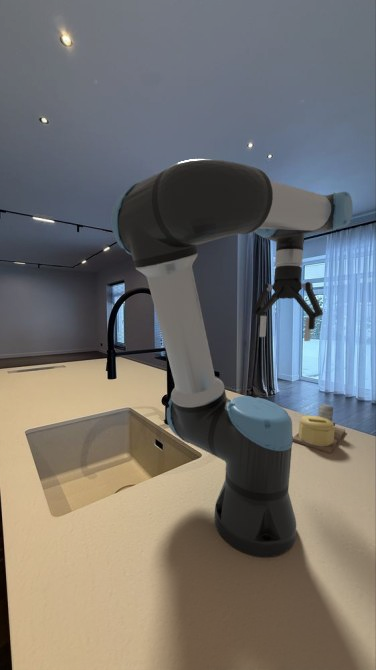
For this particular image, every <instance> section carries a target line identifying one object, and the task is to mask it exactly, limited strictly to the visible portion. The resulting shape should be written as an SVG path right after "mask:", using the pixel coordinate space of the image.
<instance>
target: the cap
mask: <svg viewBox="0 0 376 670" xmlns="http://www.w3.org/2000/svg"><path fill="white" fill-rule="evenodd" d="M333 423H334V422H333V420H332V421H330V420H328V419H326V418H322V417H318V415H302V416H301V417H300V420H299V424H298V427H299V428H298V433H299V436H300V438H301V439H302V440H304V441H306V442H309V443H311V444H314V445H323V446H327V445H330V444H332V443H334V431H335V429H334V428H333V425H334V424H333Z"/></svg>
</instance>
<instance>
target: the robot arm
mask: <svg viewBox="0 0 376 670" xmlns="http://www.w3.org/2000/svg"><path fill="white" fill-rule="evenodd" d="M352 218H353V200H352V196H351V195H350V193H349V192H347V191H339V192H333V193H331V194H327V195H325V194H320V193H316V192H313V191H309V190H305V189H302V188H299V187H296V186H292V185H288V184H285V183H280V182H278V181H274V180H271V179H270V177H269V176H268V175H267V173H266V172H264V171H263V170H261V169H260V168H258V167H254V166H250V165H248V164H244V163H240V162H239V163H238V162H234V161H228V160H219V159H211V158H209V159H207V158H198V159H197V158H195V159H188V160H184V161H180V162H176V163H175V164H173V165H170V166H169V167H168V168H166V169H164V170H162V171H160V172H158V173H155V174H153V175H152V176H150V177H148V178H145V179H144V180H142V181H139V182H136V183H134V184H133V185H131V186H129V188H128V189H127V190H126V191H124V192H123V193H121V194H120V195H119V196H118V198H117V199H116V201H115V204H114V205H113V207H112V212H111V217H110V219H111V222H110V223H111V229H112V230H111V231H112V234H113V237H114V239H115V241H116V243H117V245H119V247H120V248H121V249H123V250H124V251H125V252H126V253H127V254H128V255H129V256H130V255H131V256H132V261H133V264H134V267H135V270H136V271H138V272H140V273H142V274H143V275H144V276H145V277H146V280H147V282H148V283H147V284H148V288H149V291H150V294H151V299H152V302H153V306H154V310H155V314H156V318H157V321H158V326H159V329H160V332H161V337H162V341H163V344H164V348H165V351H166V355H167V359H168V362H169V363H168V364H169V367H170V370H171V375H172V379H173V382H174V388H173V389H172V391H171V393H170V398H169V401H168V405H169V406H168V407H167V408H166V420H167V424H168V426H169V428H170V430H171V431H172V433H173V434H174V435H175V436H176V437H178V438H180V439H181V440H182V441H184V442H186V444H190V445H192V446H194V447H196V448H198V449H201V450H202V451H205V452H207V453H209V454H211V455H212V456H214V457H216V458H219V459H220V460H222V461H224V462H225V476H224V477H225V479H224V482H223V485H222V487H221V489H220V492H219V495H218V496H217V499H216V502H215V505H214V506H215V507H214V518H213V519H214V525H215V527H216V530H217V532H218V534H219V535H220V536H221V538H222V539H223V540H224V541H225V542H226V543H227V544H229V545H230V546H231V547H233V548H234V549H236V550H238V551H240V552H242V553H244V554H247V555H251V556H255V557H265V558H266V557H267V558H269V557H276V556H277V557H278V556H280V555H282V554H284V553H286V552H287V551H289V550H290V549H291V548H292V547H293V545H294V543H295V541H296V537H297V535H296V534H297V519H296V516H295V511H294V508H293V504H292V500H291V497H290V492H289V486H290V475H291V474H290V473H291V459H292V450H293V449H292V448H293V443H294V442H293V437H294V436H293V420H292V417H291V416H290V415H289V413H288V412H287V410H286V409H285V408H283V407H282V406H280V405H279V404H277V403H275V402H273V401H270V400H268V399H265V398H261V397H258V396H257V397H253V396H250V395H239V396H236V397H233V398H232V399H229V398H228V397H227V393H226V390H225V389H226V388H225V384H224V381H222V380H221V379H220V378H218V377H217V376H216V375H215V370H214V367H213V366H214V365H213V362H212V356H211V352H210V346H209V341H208V337H207V332H206V328H205V323H204V318H203V313H202V308H201V303H200V298H199V294H198V290H197V285H196V281H195V276H194V275H195V274H194V270H193V264H194V262H195V261H196V259H197V257H198V254H199V253H198V248H197V245H202V244H205V243H208V242H212V241H216V240H219V239H222V238H227V237H231V236H234V235H235V236H236V235H249V234H253V233H255V235H258V236H260V237H261V238H264V239H267V240H270V241H273V242H275V245H276V246H275V257H274V258H275V260H274V265H275V268H274V276H273V277H274V282H273V284H269V283H264V284H263V287H262V291H261V294H260V295H259V298H258V299H257V301H256V303H255V306H254V308H252V313H253V314H255V315H256V316H257V325H258V327H259V338H264V337H266V336H267V335H266V333H267V315H266V313H267V312H268V311H269V310H270V309H271V308H272V306H274V304H275V303H276V302H277V301H278V300H279V299H288V300H289V299H290V300H292V299H294V300H295V301H296V303H298V305H299V306H300V307H301V309H302V310H303V311H304V312H305V313H306V314H307V316H308V317H305V326H304V335H303V336H304V338H303V339H304V340H303V341H305V342H310V341H311V332H312V331H311V330H315V325H316V318H317V317H320V316H321V317H322V316H323V315H324V313H323V311H322V308H321V306H320V305H321V304H319V301H318V299H317V296H316V295H315V293H314V287H313V282H310V281H306V282H305V283H304V282H303V283H302V273H303V272H302V270H303V269H302V267H301V266H302V265H303V255H304V241H305V235H306V234H307V235H308V234H312V233H313V234H314V233H318V232H325V231H331V230H332V231H334V230H336V229H341V228H346V227H347V226H348V225H350V223H351V221H352ZM302 289H303V290H304V291H305V293H306V295H307V298H308V300H309V302H310V304H311V307H312V308H311V307H310V305H309V304H308V303H307V302H306V301H305V300H304V298H303V296H302V295H301V294H300V292H301V290H302ZM272 290H273V293H272V294H271V296H270V298H269V299H268V300H267V298H268V296H269V295H270V292H271V291H272ZM266 300H267V301H266ZM264 303H265V304H264Z"/></svg>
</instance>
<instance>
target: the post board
mask: <svg viewBox="0 0 376 670" xmlns="http://www.w3.org/2000/svg"><path fill="white" fill-rule="evenodd" d="M333 413H334V406H333V405H329V404H323V403H321V404H319V405H318V415H317V416H318V417H322V418H326V419H328V420H330V421H332V422H333V415H334V414H333ZM333 424H334V425H333V428H334V429H335V431H334V443H332V444H330V445H327V446H323V445H314V444H311V443H309V442H306V441H304V440H302V439H301V438H300V436H299V432H298V433H297V434H295V435H294V436H293V443H297V444H300V445H303V446H306V447H308V448H312V449H315V450H319V451H321V452H324V453H328V454H331V453H332V452H333V450H334V449H335V448H336V445H338V443H339V442H340V440H341V439H342V437H344V434H345V433H346V429H344V428H341V427H338V426H336V423H335V422H333Z"/></svg>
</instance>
